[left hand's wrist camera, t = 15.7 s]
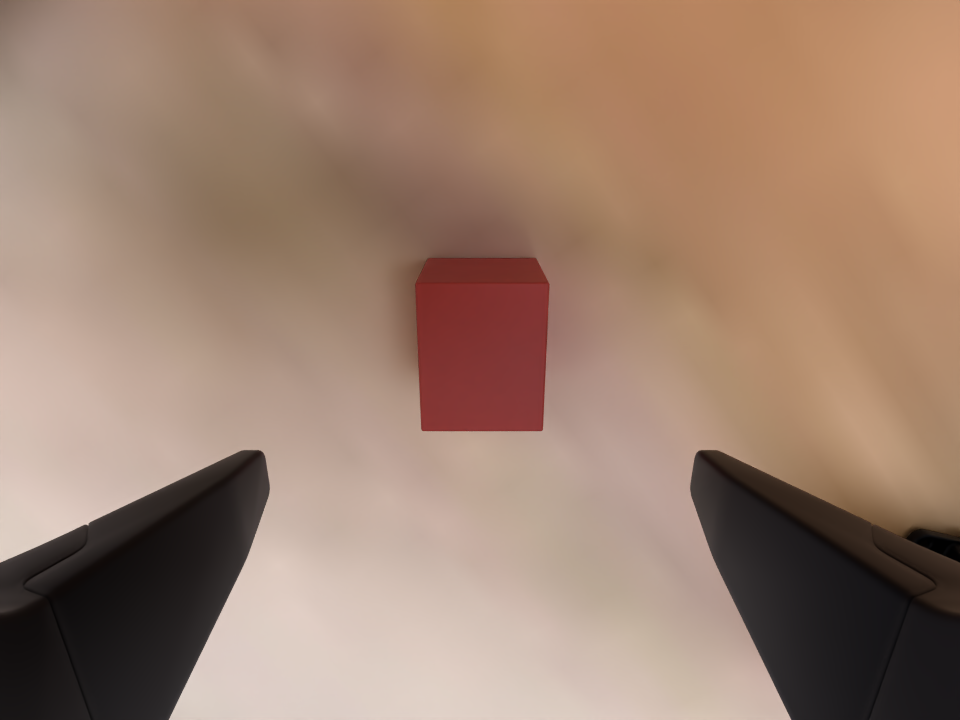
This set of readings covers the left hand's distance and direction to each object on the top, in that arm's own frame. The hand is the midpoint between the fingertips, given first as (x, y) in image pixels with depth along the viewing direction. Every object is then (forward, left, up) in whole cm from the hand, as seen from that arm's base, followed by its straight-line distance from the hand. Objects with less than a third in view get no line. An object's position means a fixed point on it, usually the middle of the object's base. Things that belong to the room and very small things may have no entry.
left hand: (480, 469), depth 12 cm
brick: (0, 0, -10) cm, 10 cm away
